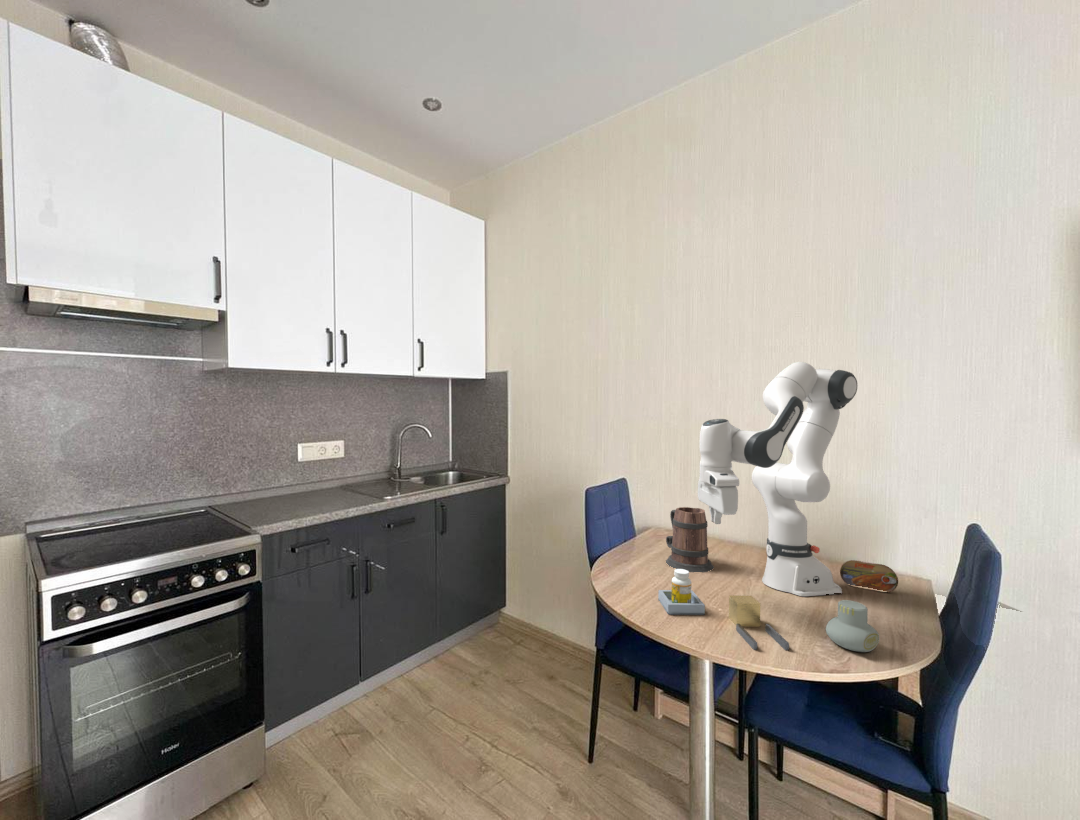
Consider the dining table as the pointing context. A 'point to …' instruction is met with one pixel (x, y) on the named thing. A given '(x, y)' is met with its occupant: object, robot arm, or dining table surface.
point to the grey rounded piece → (852, 627)
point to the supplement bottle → (681, 587)
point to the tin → (869, 575)
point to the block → (744, 611)
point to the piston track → (769, 630)
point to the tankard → (689, 540)
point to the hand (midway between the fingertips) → (715, 522)
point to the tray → (681, 604)
